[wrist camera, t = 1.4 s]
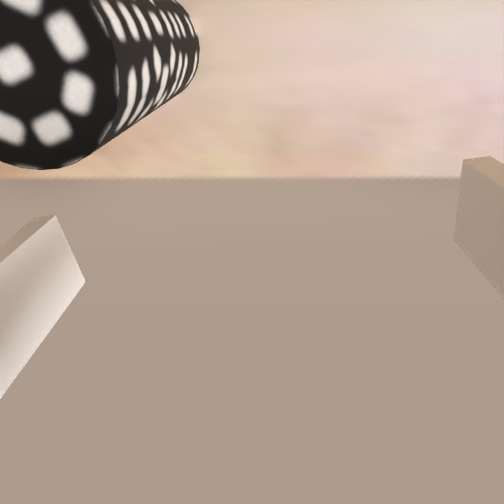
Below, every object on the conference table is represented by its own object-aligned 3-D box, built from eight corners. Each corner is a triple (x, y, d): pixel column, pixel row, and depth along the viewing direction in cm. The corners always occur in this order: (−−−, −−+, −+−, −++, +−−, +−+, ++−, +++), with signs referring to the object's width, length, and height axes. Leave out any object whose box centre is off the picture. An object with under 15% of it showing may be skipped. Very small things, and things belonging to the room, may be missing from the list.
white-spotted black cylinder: (132, 114, 35) (-1, 195, 18) (80, 15, 31) (-154, -6, 14) (215, 77, 33) (157, 128, 16) (170, -33, 29) (31, -125, 12)
